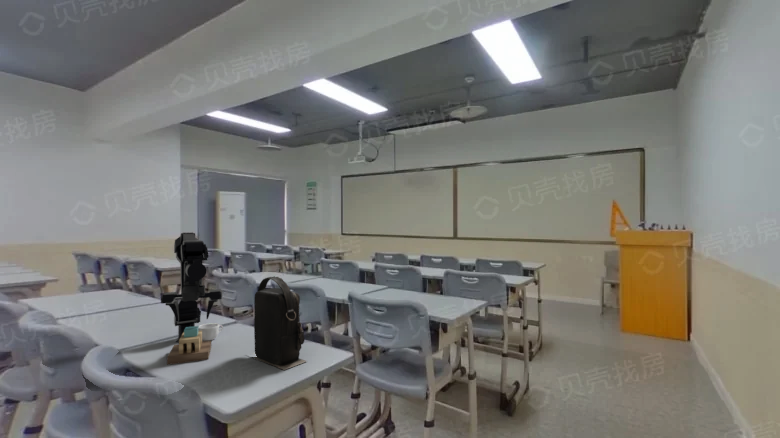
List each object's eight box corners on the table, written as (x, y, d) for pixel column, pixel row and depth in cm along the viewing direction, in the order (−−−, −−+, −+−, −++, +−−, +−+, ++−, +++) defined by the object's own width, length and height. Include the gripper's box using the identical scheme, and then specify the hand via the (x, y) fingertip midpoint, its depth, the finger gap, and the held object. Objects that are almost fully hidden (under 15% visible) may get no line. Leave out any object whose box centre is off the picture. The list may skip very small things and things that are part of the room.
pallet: (183, 344, 129) (183, 332, 129) (202, 342, 131) (202, 330, 131) (178, 354, 120) (178, 340, 120) (199, 351, 122) (199, 338, 122)
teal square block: (185, 334, 127) (185, 327, 127) (198, 333, 128) (198, 326, 128) (184, 337, 123) (184, 330, 123) (197, 336, 124) (197, 328, 124)
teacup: (203, 343, 138) (204, 329, 138) (193, 340, 142) (193, 326, 142) (228, 337, 146) (228, 323, 147) (217, 333, 151) (217, 321, 151)
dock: (174, 351, 129) (174, 344, 129) (211, 347, 134) (211, 340, 134) (167, 364, 117) (167, 356, 117) (208, 359, 122) (208, 351, 122)
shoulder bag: (244, 355, 125) (244, 275, 126) (267, 348, 133) (267, 272, 133) (284, 370, 112) (284, 280, 112) (307, 362, 119) (307, 277, 120)
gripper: (157, 281, 117) (156, 329, 117) (220, 278, 124) (220, 323, 123) (164, 276, 127) (164, 320, 127) (222, 273, 134) (222, 315, 134)
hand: (192, 320), depth 127 cm, fingers open, 9 cm apart
